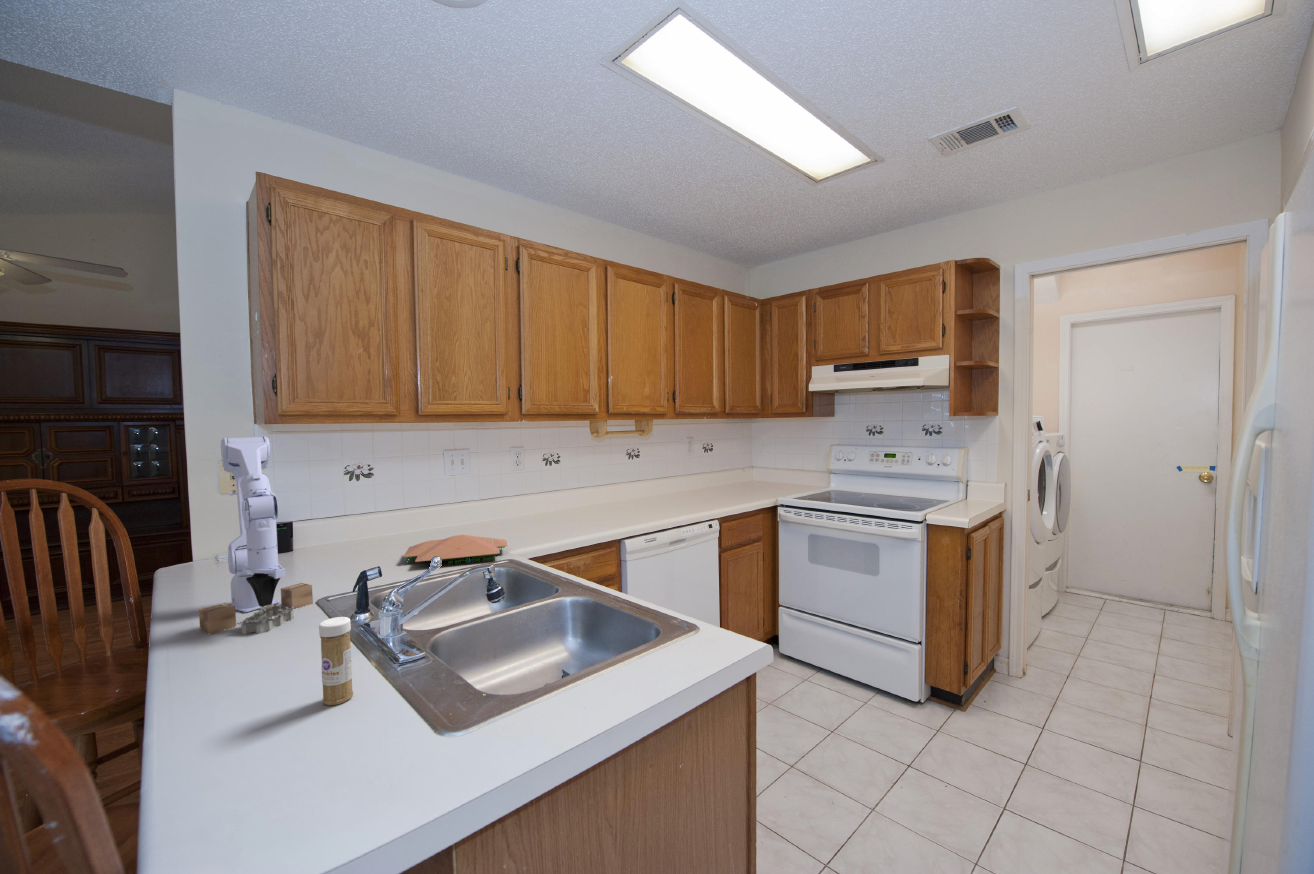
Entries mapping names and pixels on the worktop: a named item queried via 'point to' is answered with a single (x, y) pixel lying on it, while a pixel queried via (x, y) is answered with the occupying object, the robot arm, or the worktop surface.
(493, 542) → the house
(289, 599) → the numbered block one
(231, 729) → the worktop surface
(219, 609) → the numbered block seven
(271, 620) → the egg carton
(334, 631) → the sprinkles bottle
